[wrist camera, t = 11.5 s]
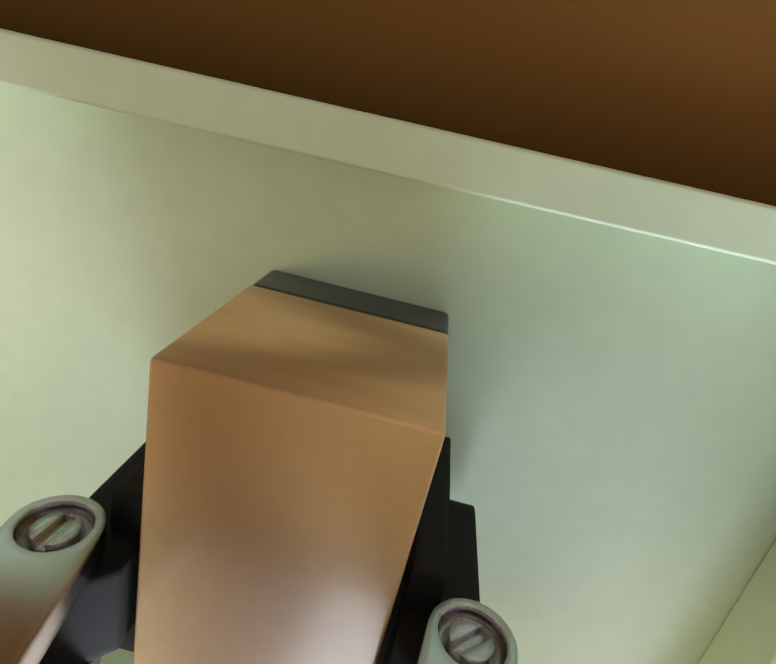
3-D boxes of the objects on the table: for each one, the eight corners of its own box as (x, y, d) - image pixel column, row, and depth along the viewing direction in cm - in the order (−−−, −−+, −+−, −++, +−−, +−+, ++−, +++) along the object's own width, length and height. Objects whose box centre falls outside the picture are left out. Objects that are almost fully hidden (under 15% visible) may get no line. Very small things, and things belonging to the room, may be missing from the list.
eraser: (450, 311, 10) (447, 433, 6) (367, 606, 13) (326, 825, 9) (272, 267, 10) (147, 357, 6) (229, 568, 13) (125, 768, 9)
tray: (960, 249, 10) (1107, 282, 7) (633, 770, 15) (663, 873, 13) (-344, -51, 10) (-550, -98, 8) (-191, 547, 16) (-291, 610, 14)
